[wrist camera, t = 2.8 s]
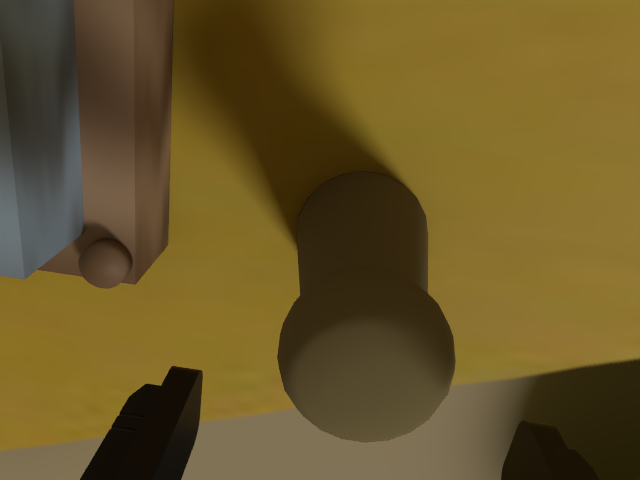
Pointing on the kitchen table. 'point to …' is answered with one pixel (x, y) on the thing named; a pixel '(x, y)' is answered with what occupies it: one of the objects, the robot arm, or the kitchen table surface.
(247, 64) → the kitchen table surface
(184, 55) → the kitchen table surface
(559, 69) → the kitchen table surface
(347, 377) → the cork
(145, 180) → the knobbed square tray
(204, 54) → the kitchen table surface
